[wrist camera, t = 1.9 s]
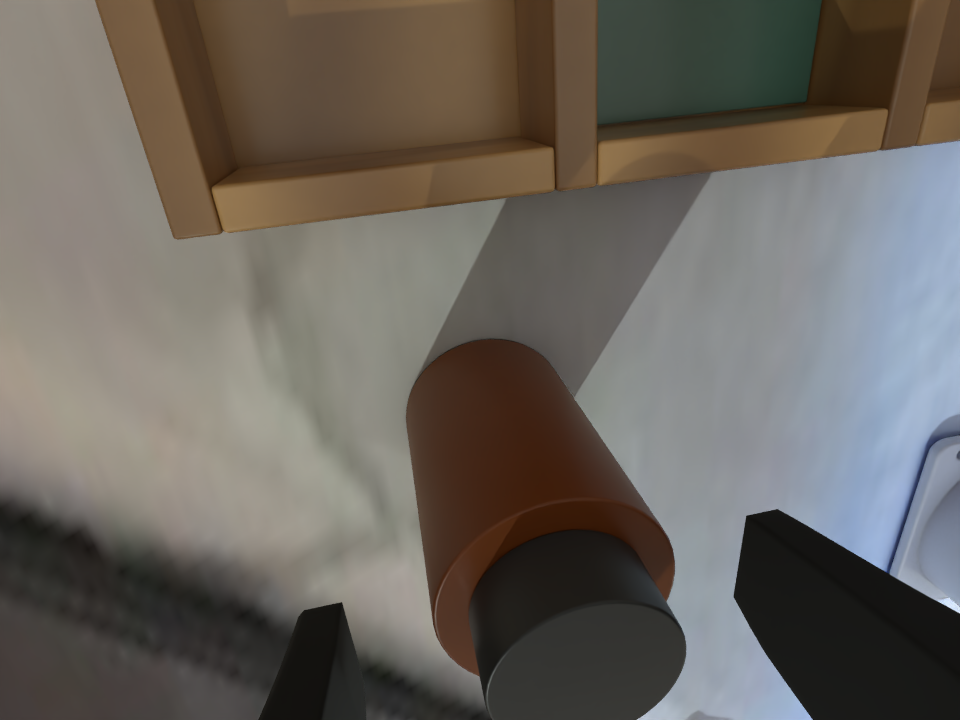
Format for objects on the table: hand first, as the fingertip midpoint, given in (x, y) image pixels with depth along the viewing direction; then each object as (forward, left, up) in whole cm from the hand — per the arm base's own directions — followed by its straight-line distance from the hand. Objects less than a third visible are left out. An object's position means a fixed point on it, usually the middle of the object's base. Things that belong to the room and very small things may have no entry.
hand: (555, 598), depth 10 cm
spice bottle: (0, 0, -7) cm, 7 cm away
